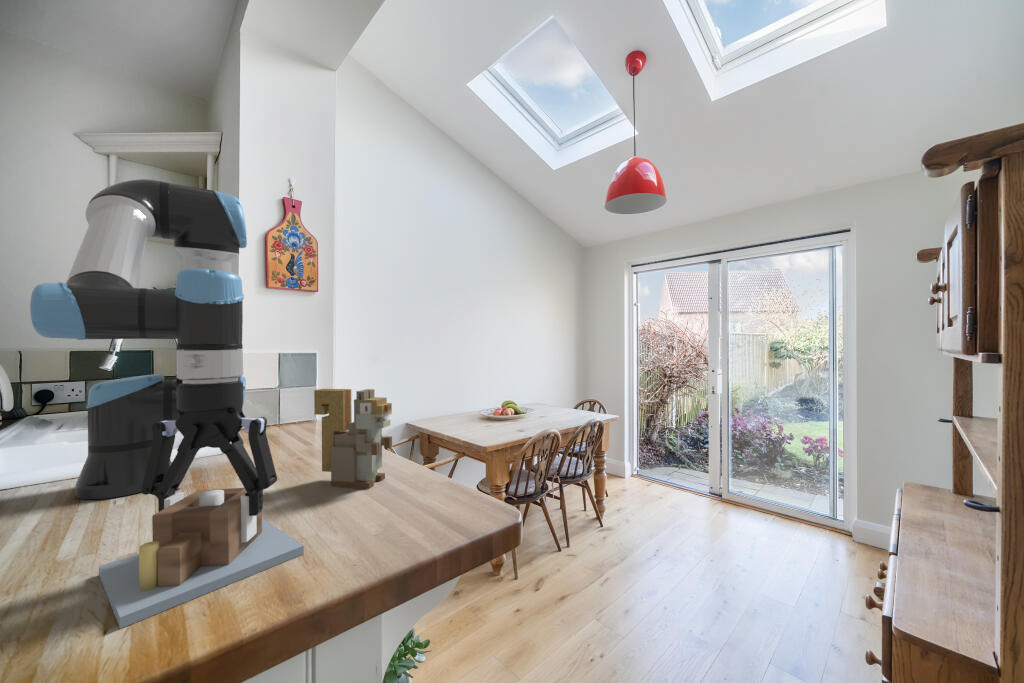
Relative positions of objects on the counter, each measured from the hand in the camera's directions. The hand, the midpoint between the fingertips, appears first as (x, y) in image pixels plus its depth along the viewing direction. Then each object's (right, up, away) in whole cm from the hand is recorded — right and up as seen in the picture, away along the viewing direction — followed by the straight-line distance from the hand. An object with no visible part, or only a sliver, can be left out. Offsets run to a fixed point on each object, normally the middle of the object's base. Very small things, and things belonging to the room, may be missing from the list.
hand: (212, 539), depth 56 cm
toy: (+8, -3, +31) cm, 32 cm away
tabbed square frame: (0, -1, -2) cm, 2 cm away
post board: (0, -3, -1) cm, 3 cm away
